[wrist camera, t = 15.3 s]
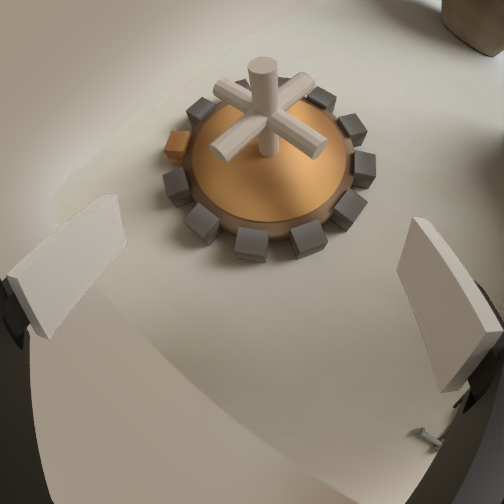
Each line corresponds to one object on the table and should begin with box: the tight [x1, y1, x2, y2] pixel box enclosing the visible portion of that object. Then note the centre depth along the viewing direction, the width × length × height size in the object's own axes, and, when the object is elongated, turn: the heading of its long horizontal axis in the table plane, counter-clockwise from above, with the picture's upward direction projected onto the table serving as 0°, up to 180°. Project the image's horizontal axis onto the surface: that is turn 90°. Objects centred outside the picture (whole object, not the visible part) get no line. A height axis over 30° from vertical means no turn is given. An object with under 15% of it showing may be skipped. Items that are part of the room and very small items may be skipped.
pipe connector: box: [209, 57, 328, 163], centre depth 20 cm, size 10×10×10 cm
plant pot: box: [441, 0, 504, 56], centre depth 22 cm, size 25×25×22 cm
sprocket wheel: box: [162, 77, 376, 262], centre depth 26 cm, size 20×20×2 cm
